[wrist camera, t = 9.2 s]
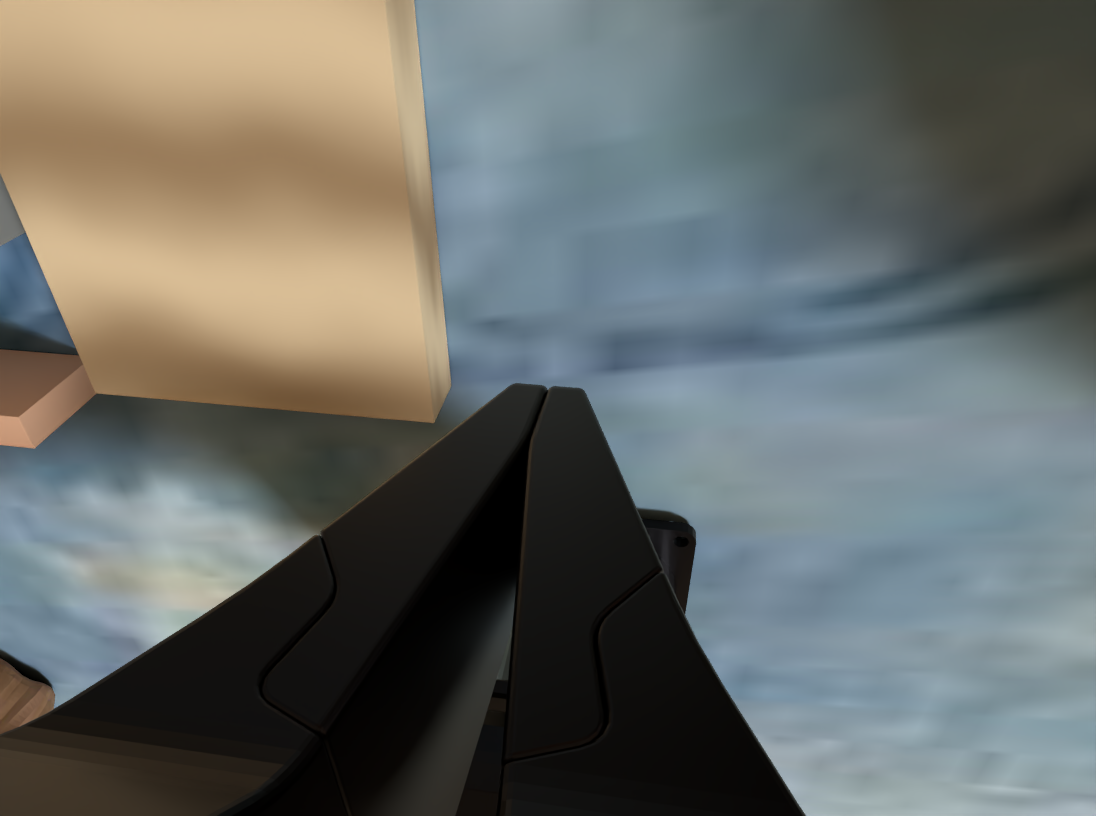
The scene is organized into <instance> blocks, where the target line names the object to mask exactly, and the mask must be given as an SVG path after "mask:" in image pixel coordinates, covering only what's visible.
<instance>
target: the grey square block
mask: <svg viewBox="0 0 1096 816" xmlns="http://www.w3.org/2000/svg"><path fill="white" fill-rule="evenodd" d="M25 232H26V231H25V229H24V227H23V225H22V222H21V220H20V218H19V215H18V213H17V211H16V208H15V206H14V204H13V201H12V199H11V197H10V194H9V192H8V190H7V188H6V185H5V183H4V181H3V178H2V176H1V174H0V246H1V245H3V244H5V243H7V242H9V241H11V240H12V239H14V238H16V237H18V236H20V235H21V234H23V233H25Z"/></svg>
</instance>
